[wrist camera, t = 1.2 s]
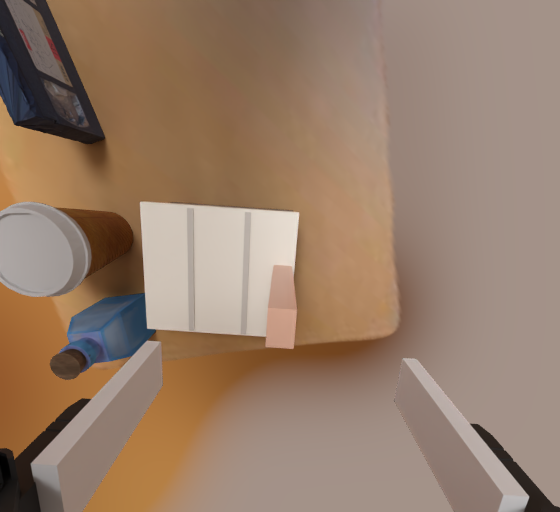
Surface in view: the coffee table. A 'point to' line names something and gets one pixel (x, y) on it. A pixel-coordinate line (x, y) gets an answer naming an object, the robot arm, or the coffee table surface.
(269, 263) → the lid
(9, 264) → the disposable coffee cup
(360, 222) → the coffee table surface
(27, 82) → the vhs cassette tape
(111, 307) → the perfume bottle
